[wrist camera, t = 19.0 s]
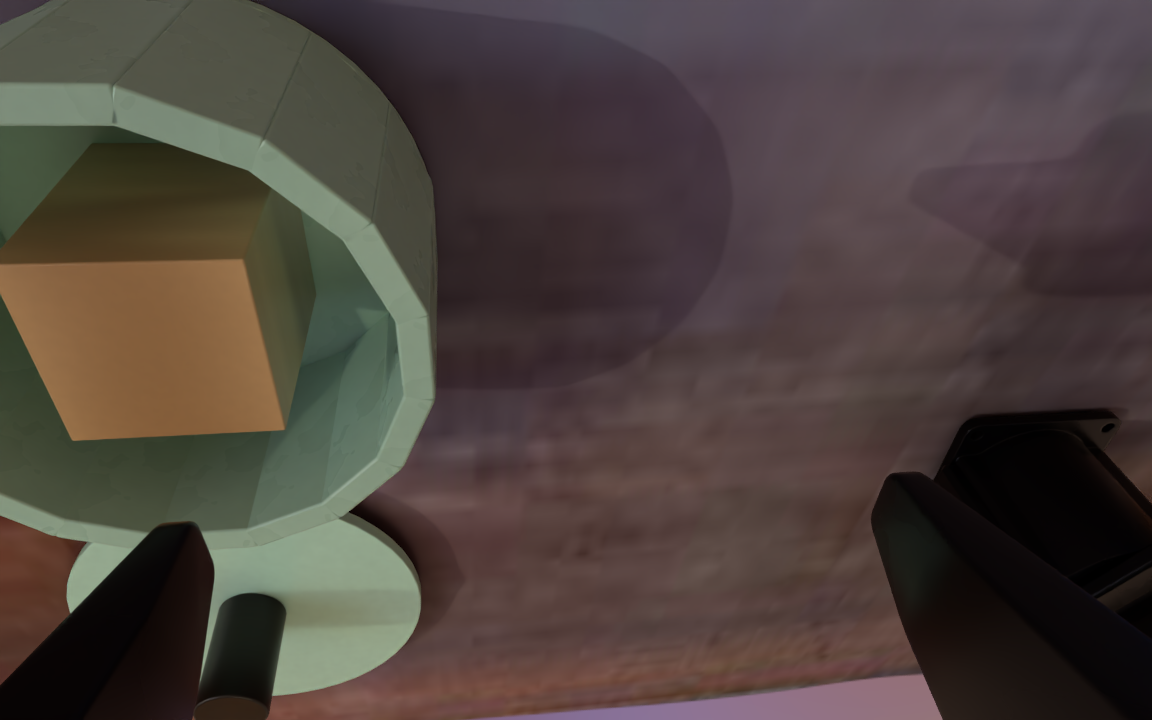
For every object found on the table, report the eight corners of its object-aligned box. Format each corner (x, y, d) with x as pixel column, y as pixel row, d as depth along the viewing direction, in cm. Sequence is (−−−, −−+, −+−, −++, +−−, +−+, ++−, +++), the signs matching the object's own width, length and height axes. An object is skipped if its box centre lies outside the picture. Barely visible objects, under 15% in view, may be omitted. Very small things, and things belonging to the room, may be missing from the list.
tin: (420, -13, 18) (412, 86, 13) (445, 374, 25) (446, 534, 20) (-141, -27, 16) (-402, 79, 11) (58, 390, 23) (-47, 569, 18)
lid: (409, 465, 27) (403, 590, 23) (430, 658, 35) (429, 776, 31) (21, 488, 25) (-56, 627, 21) (135, 685, 33) (93, 814, 29)
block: (288, 141, 19) (243, 259, 15) (316, 295, 22) (285, 431, 17) (90, 142, 18) (-16, 264, 14) (146, 299, 21) (71, 442, 17)
